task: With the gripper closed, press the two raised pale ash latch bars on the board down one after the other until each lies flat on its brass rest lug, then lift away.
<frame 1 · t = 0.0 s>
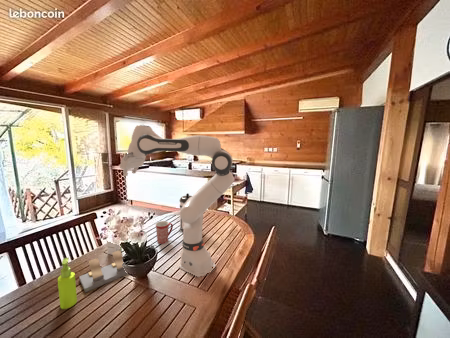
hand: (129, 174, 117), 52 cm above the table, tool tilted 20°, fingers open, 8 cm apart
latch 2: (119, 260, 110), point 6 cm above the table, hinge at 40.0°
latch 1: (95, 269, 102), point 6 cm above the table, hinge at 40.0°
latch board: (108, 275, 108), on the table
mug: (164, 240, 146), on the table
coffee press: (187, 228, 167), on the table
soap dispenser: (68, 303, 89), on the table
syrup box: (114, 252, 129), on the table
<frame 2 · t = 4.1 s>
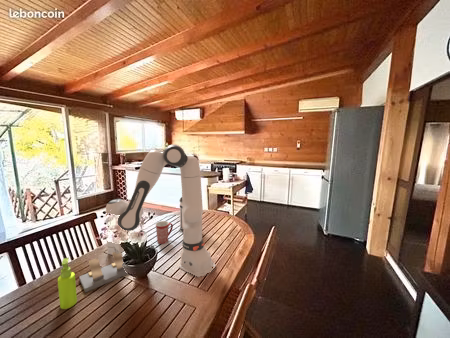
hand: (117, 252, 111), 10 cm above the table, tool pointing down, fingers closed
latch 2: (119, 260, 110), point 6 cm above the table, hinge at 39.2°, touching gripper
everything else where it was.
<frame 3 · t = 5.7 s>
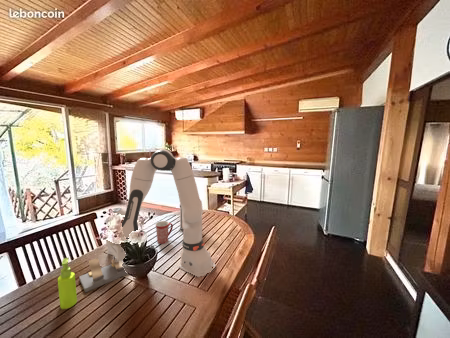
hand: (116, 260, 113), 5 cm above the table, tool pointing down, fingers closed on latch 2
latch 2: (118, 264, 111), point 4 cm above the table, hinge at 3.5°, touching gripper
everything else where it was.
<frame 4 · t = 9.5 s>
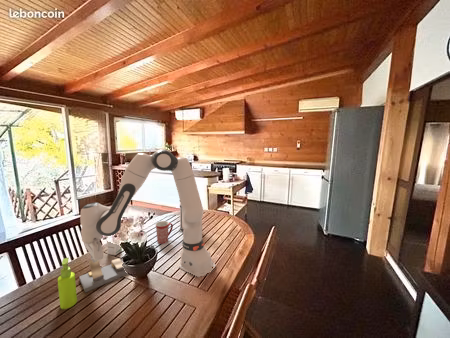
hand: (94, 260, 103), 10 cm above the table, tool pointing down, fingers closed
latch 2: (118, 264, 111), point 4 cm above the table, hinge at 1.2°
latch 1: (95, 269, 102), point 6 cm above the table, hinge at 40.0°, touching gripper
everything else where it was.
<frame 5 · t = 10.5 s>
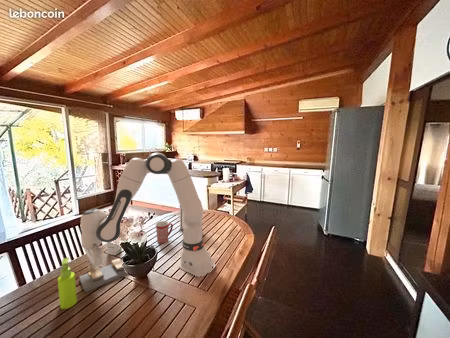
hand: (93, 265, 105), 7 cm above the table, tool pointing down, fingers closed
latch 1: (95, 271, 103), point 5 cm above the table, hinge at 16.4°, touching gripper
everything else where it was.
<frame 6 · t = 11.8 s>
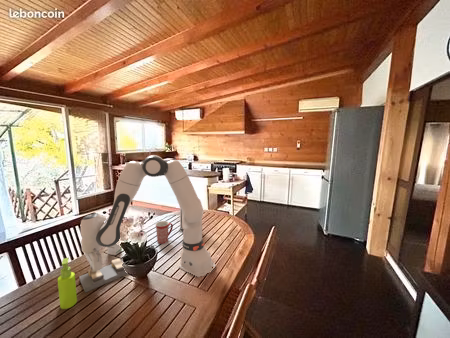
hand: (93, 270, 105), 4 cm above the table, tool pointing down, fingers closed on latch 1, 2 cm apart
latch 1: (95, 273, 103), point 4 cm above the table, hinge at 1.6°, touching gripper
everything else where it was.
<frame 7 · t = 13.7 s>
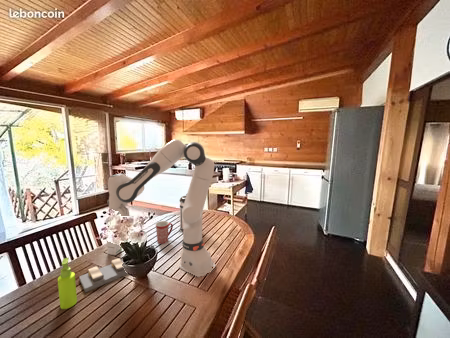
hand: (120, 226, 115), 23 cm above the table, tool pointing down, fingers closed
latch 1: (95, 273, 103), point 4 cm above the table, hinge at 1.5°
everything else where it was.
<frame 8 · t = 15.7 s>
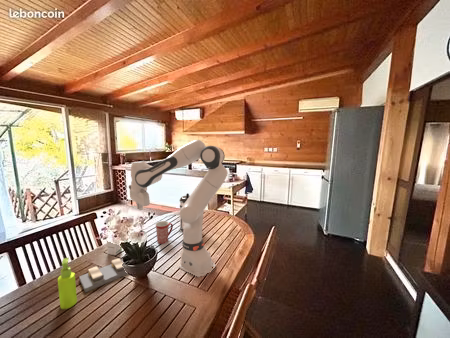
hand: (139, 209, 125), 29 cm above the table, tool pointing down, fingers closed
nothing on the table moved.
at the end: latch 2 at +1° (first picture: +40°); latch 1 at +2° (first picture: +40°) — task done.
